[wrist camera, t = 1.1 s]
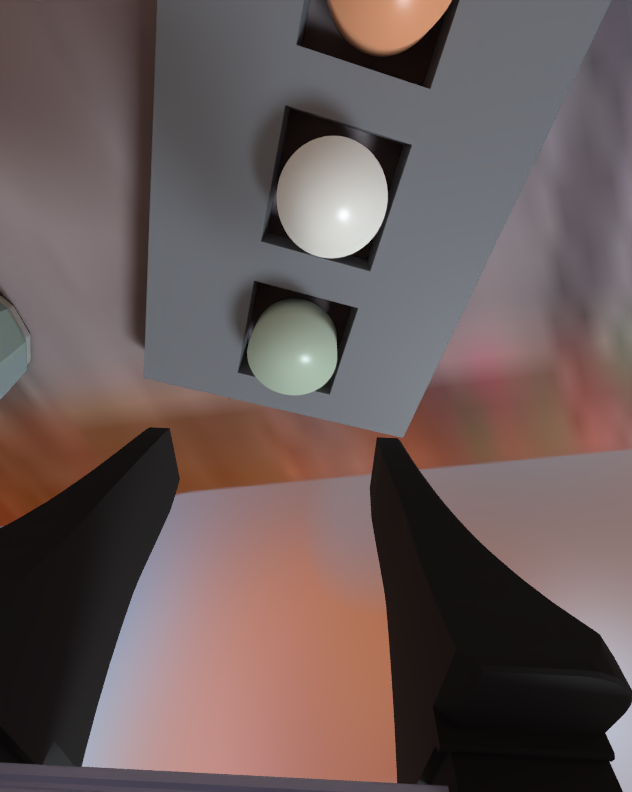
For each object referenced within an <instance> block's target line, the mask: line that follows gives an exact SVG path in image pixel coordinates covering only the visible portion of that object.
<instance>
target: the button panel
mask: <svg viewBox="0 0 632 792" xmlns="http://www.w3.org/2000/svg"><path fill="white" fill-rule="evenodd" d="M610 2H611V0H452V1H451V3H450V5H449V6H448V8H447V11H446V14H445V17H444V20H443V24H442V27H441V30H440V33H439V36H438V39H437V42H436V45H435V49H434V52H433V55H432V58H431V61H430V64H429V67H428V70H427V74H426V77H425V80H424V83H423V86H419V85H416V84H413V83H410V82H407V81H404V80H401V79H398V78H395V77H392V76H389V75H386V74H383V73H380V72H377V71H374V70H371V69H368V68H365V67H362V66H359V65H356V64H353V63H350V62H347V61H344V60H341V59H338V58H335V57H332V56H328V55H325V54H322V53H319V52H316V51H313V50H310V49H307V48H304V47H301V46H302V41H303V35H304V30H305V25H306V19H307V14H308V8H309V3H310V0H157V19H156V47H155V76H154V104H153V132H152V160H151V188H150V216H149V244H148V273H147V301H146V329H145V357H144V378H146V379H150V380H154V381H159V382H163V383H167V384H172V385H176V386H180V387H185V388H189V389H193V390H198V391H202V392H206V393H211V394H215V395H219V396H224V397H228V398H232V399H237V400H241V401H246V402H250V403H254V404H259V405H263V406H267V407H272V408H276V409H280V410H285V411H289V412H293V413H298V414H302V415H306V416H311V417H315V418H319V419H324V420H328V421H332V422H337V423H341V424H345V425H350V426H354V427H358V428H363V429H367V430H371V431H376V432H380V433H384V434H389V435H393V436H397V437H402V438H403V437H404V435H405V432H406V430H407V428H408V426H409V424H410V422H411V420H412V418H413V416H414V414H415V411H416V409H417V407H418V405H419V403H420V401H421V399H422V397H423V395H424V393H425V390H426V388H427V386H428V384H429V382H430V380H431V378H432V376H433V374H434V372H435V369H436V367H437V365H438V363H439V361H440V359H441V357H442V355H443V353H444V351H445V349H446V346H447V344H448V342H449V340H450V338H451V336H452V334H453V332H454V330H455V328H456V325H457V323H458V321H459V319H460V317H461V315H462V313H463V311H464V309H465V307H466V304H467V302H468V300H469V298H470V296H471V294H472V292H473V290H474V288H475V286H476V283H477V281H478V279H479V277H480V275H481V273H482V271H483V269H484V267H485V265H486V263H487V260H488V258H489V256H490V254H491V252H492V250H493V248H494V246H495V244H496V242H497V239H498V237H499V235H500V233H501V231H502V229H503V227H504V225H505V223H506V221H507V218H508V216H509V214H510V212H511V210H512V208H513V206H514V204H515V202H516V200H517V198H518V195H519V193H520V191H521V189H522V187H523V185H524V183H525V181H526V179H527V177H528V174H529V172H530V170H531V168H532V166H533V164H534V162H535V160H536V158H537V156H538V153H539V151H540V149H541V147H542V145H543V143H544V141H545V139H546V137H547V135H548V132H549V130H550V128H551V126H552V124H553V122H554V120H555V118H556V116H557V114H558V112H559V109H560V107H561V105H562V103H563V101H564V99H565V97H566V95H567V93H568V91H569V88H570V86H571V84H572V82H573V80H574V78H575V76H576V74H577V72H578V70H579V67H580V65H581V63H582V61H583V59H584V57H585V55H586V53H587V51H588V49H589V46H590V44H591V42H592V40H593V38H594V36H595V34H596V32H597V30H598V28H599V26H600V23H601V21H602V19H603V17H604V15H605V13H606V11H607V9H608V7H609V5H610ZM290 109H293V110H296V111H299V112H302V113H305V114H309V115H312V116H315V117H318V118H321V119H325V120H328V121H331V122H334V123H337V124H341V125H344V126H347V127H350V128H353V129H356V130H360V131H363V132H366V133H369V134H372V135H376V136H379V137H382V138H385V139H388V140H392V141H395V142H398V143H401V144H404V145H403V149H402V152H401V155H400V158H399V161H398V164H397V167H396V170H395V174H394V177H393V180H392V183H391V186H390V189H389V192H388V202H387V209H386V213H385V217H384V219H383V222H382V224H381V226H380V228H379V230H378V232H377V233H376V234H375V236H374V239H373V242H372V246H371V249H370V252H369V255H368V258H367V260H365V259H362V258H358V257H355V256H351V255H348V256H345V257H340V258H322V257H318V256H315V255H312V254H310V253H308V252H306V251H304V250H303V249H301V248H300V247H299V246H297V245H296V244H295V243H294V242H293V241H292V239H290V238H286V237H283V236H279V235H275V234H272V233H268V232H267V231H268V226H269V220H270V215H271V209H272V204H273V199H274V193H275V188H276V182H277V177H278V171H279V166H280V161H281V155H282V150H283V144H284V139H285V133H286V128H287V122H288V117H289V112H290ZM258 282H261V283H265V284H269V285H272V286H276V287H280V288H284V289H288V290H291V291H295V292H299V293H303V294H307V295H310V296H314V297H318V298H322V299H326V300H329V301H333V302H337V303H341V304H345V305H348V306H352V308H351V311H350V314H349V317H348V321H347V324H346V327H345V330H344V333H343V336H342V339H341V342H340V346H339V349H338V352H337V364H336V368H335V370H334V373H333V374H332V376H331V378H330V379H329V380H328V381H327V382H326V383H325V384H324V385H323V386H322V387H321V388H319V389H317V390H315V391H313V392H311V393H308V394H303V395H285V394H281V393H277V392H275V391H273V390H271V389H269V388H267V387H266V386H264V385H263V384H262V383H261V382H260V381H259V380H258V379H257V378H256V377H255V375H254V374H253V372H252V370H251V368H250V366H249V363H248V358H247V355H245V351H246V345H247V340H248V335H249V329H250V324H251V318H252V313H253V307H254V302H255V296H256V291H257V286H258Z"/></svg>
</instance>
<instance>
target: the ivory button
mask: <svg viewBox="0 0 632 792" xmlns="http://www.w3.org/2000/svg"><path fill="white" fill-rule="evenodd" d="M387 202H388V190H387V183H386V179H385V175H384V173H383V170H382V168H381V166H380V164H379V162H378V161H377V159H376V158H375V156H374V155H373V154H372V153H371V152H370V151H369V150H368V149H367V148H366V147H364V146H363V145H362V144H360V143H358V142H357V141H355V140H352V139H350V138H347V137H342V136H324V137H320V138H316V139H314V140H311V141H309V142H308V143H306V144H304V145H303V146H301V147H300V148H299V149H298V150H297V151H296V152H295V153H294V154H293V155H292V156H291V157H290V159H289V160H288V161H287V163H286V165H285V166H284V168H283V170H282V173H281V175H280V178H279V182H278V187H277V209H278V214H279V218H280V220H281V223H282V225H283V227H284V229H285V231H286V233H287V234H288V236H289V237H290V238H291V239H292V241H293V242H294V243H295V244H296V245H297V246H299V247H300V248H301V249H303V250H304V251H306V252H308V253H310V254H312V255H315V256H318V257H322V258H340V257H345V256H348V255H351V254H353V253H355V252H357V251H358V250H360V249H361V248H363V247H364V246H365V245H366V244H368V243H369V242H370V241H371V239H372V238H373V237H374V236H375V234H376V233H377V232H378V230H379V228H380V226H381V224H382V222H383V219H384V217H385V213H386V209H387Z"/></svg>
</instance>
